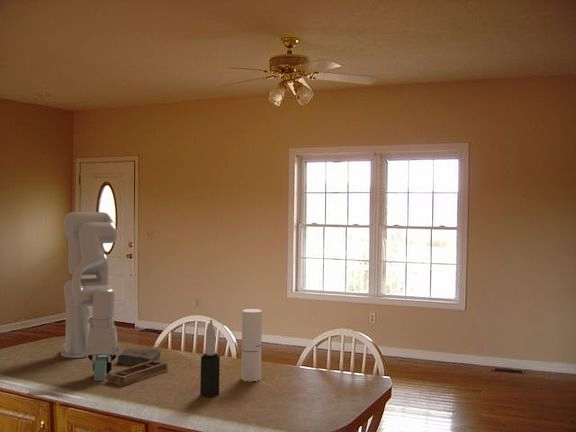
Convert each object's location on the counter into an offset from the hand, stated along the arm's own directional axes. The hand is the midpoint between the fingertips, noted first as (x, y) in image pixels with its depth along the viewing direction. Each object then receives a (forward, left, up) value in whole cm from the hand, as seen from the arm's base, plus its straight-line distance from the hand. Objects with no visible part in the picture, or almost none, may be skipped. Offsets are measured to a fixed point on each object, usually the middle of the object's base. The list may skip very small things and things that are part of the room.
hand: (102, 372), depth 206 cm
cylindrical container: (+47, +27, -2) cm, 54 cm away
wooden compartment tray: (+11, +7, -2) cm, 13 cm away
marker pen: (+45, +5, -2) cm, 45 cm away
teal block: (0, 0, -2) cm, 2 cm away
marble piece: (-4, +22, -2) cm, 23 cm away
